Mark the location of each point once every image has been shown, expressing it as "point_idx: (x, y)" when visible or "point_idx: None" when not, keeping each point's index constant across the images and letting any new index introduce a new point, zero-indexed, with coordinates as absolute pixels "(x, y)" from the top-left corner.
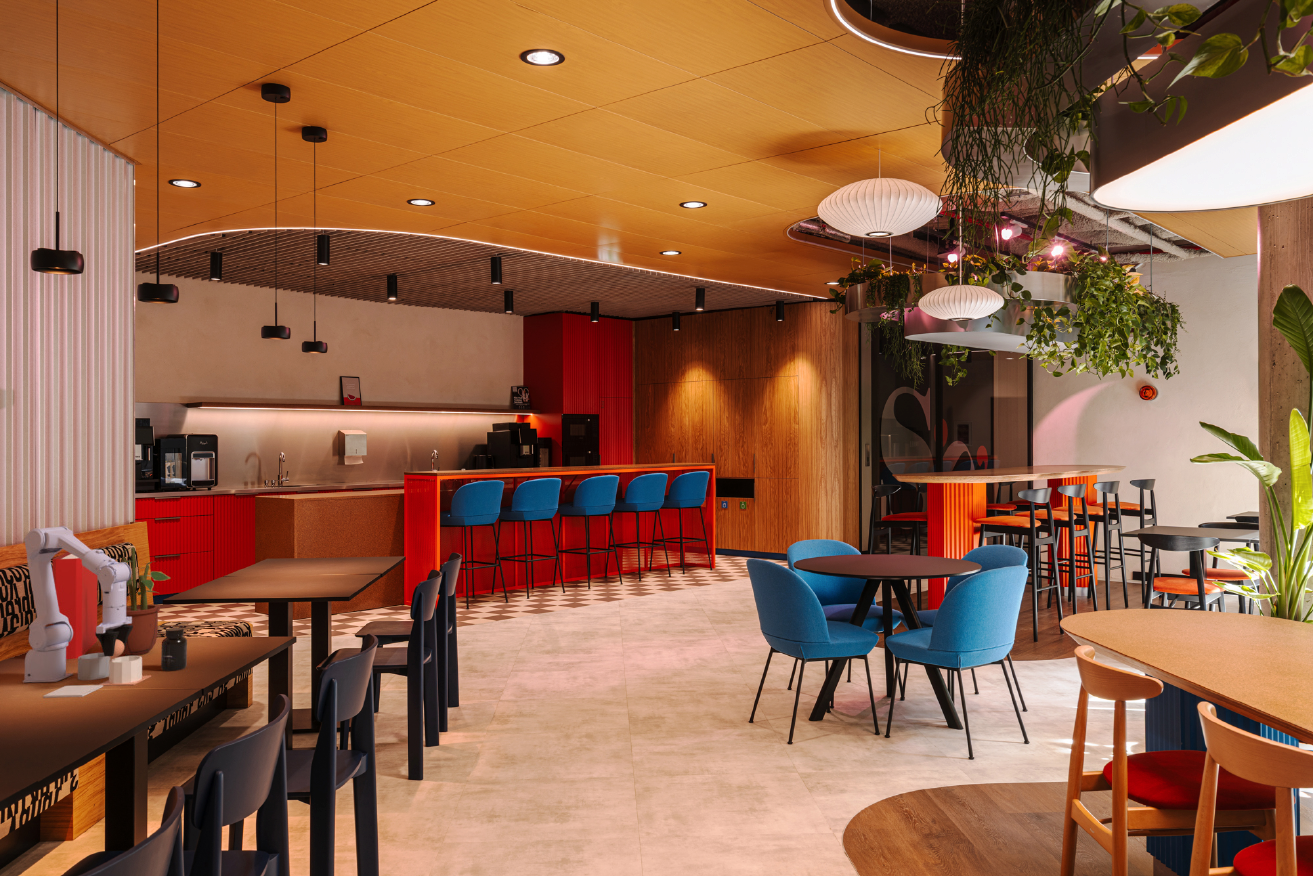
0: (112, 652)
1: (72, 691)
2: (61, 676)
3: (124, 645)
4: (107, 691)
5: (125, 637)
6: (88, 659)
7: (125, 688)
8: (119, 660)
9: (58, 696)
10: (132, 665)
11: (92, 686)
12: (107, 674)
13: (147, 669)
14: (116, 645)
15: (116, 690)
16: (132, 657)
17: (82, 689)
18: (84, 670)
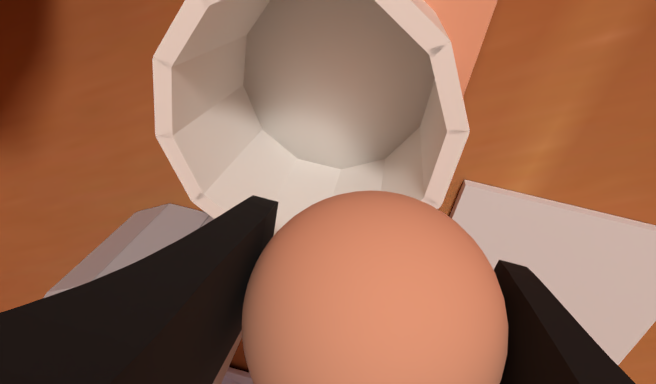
0: (549, 296)
1: (566, 305)
2: (226, 382)
3: (243, 230)
4: (632, 119)
5: (179, 313)
6: (216, 376)
7: (601, 5)
8: (228, 191)
9: (631, 343)
10: (432, 18)
11: (478, 234)
12: (193, 217)
13: (18, 19)
14: (494, 332)
15: (637, 61)
16: (178, 95)
17: (539, 269)
18: (241, 334)
